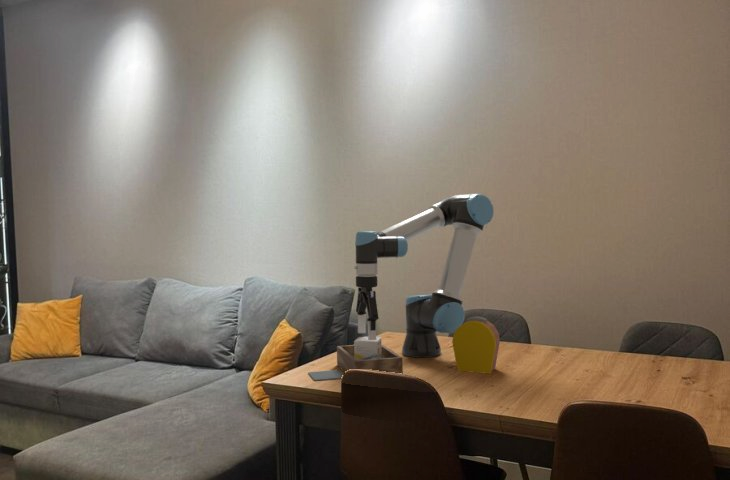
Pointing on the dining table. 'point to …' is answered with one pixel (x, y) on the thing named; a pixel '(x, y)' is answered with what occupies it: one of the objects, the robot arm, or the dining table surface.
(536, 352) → the dining table surface
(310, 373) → the slate pad
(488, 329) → the yellow arched block
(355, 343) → the ink box
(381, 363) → the walnut frame
